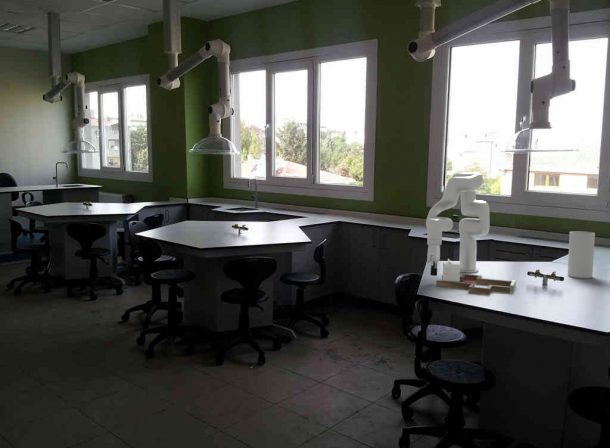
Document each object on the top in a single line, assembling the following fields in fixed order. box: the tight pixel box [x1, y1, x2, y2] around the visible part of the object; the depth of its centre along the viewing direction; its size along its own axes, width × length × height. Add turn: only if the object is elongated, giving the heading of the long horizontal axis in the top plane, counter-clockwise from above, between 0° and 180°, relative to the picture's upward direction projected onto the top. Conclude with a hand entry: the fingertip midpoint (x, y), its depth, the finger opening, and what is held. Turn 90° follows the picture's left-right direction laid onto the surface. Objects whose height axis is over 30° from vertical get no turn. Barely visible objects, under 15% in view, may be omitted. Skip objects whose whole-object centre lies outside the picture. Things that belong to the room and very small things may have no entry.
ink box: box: [442, 258, 461, 282], centre depth 278 cm, size 9×8×13 cm
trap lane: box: [435, 273, 517, 296], centre depth 273 cm, size 31×38×4 cm
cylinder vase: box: [567, 230, 596, 280], centre depth 296 cm, size 12×12×25 cm
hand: (433, 275), depth 283 cm, fingers closed
